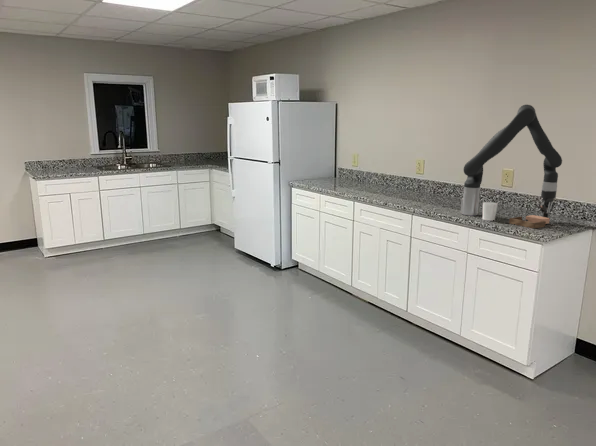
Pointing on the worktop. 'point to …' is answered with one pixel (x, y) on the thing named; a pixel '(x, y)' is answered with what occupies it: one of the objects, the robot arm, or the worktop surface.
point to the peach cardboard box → (537, 219)
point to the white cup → (489, 211)
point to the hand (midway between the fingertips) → (545, 219)
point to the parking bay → (526, 223)
